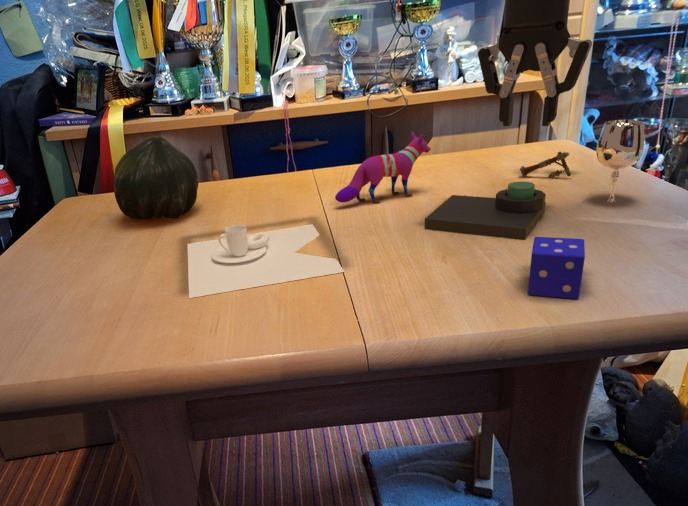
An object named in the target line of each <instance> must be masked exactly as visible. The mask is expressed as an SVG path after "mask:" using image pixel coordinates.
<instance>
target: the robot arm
mask: <svg viewBox="0 0 688 506" xmlns="http://www.w3.org/2000/svg"><path fill="white" fill-rule="evenodd" d="M570 2H571V0H504V10H503V14H504V15H503V27H502V29H503V30H502V35H501V37H500V39H499V41H498V43H495V44H493V45H490V46H484V47H482V48H480V49H479V50H478V51H477V57H478V61H479V65H480V70H481V75H482V79H483V83H484V87H485V91H486V93H487V94H488V95H489V94H490V95H491V94H493V95H495V96H498V98H499V111H498V112H499V114H498V120H499V123H502V126H503V127H510V126H511V125H512V124H513V116H514V102H515V96H514V95H513V92H514V89H515V88H516V84H517V82H518V80H519V78H520V76H521V73H524V72H528V71H533V72H540V75H541V76H540V77H541V80H542V81H543V84H544V89H545V93H546V96H545V97H544V99H543V100H544V101H543V110H542V120H541V126H542V127H549V126H550V125H551V123H552V122H554V121H555V120H556V118H557V115H558V105H559V99H560V98H559V97H560V95H561V94H564V93H566V92H570V91H571V90H572V89H573V88H574V87H576V85H577V82H578V79H579V77H580V74H581V72H582V70H583V68H584V66H585V63H586V60H587V58H588V56H589V54H590V51H591V48H592V46H593V42H592V40H591V39H585V40H583V39H579V38H575V37H571V33H570V32H569V29H568V21H569V12H570ZM566 48H568V50H569V52H568V54H569V58H571V59H572V60H571V63H570V65H569V67H568V70H567V73H566V75H565V78H564V80H563V81H561V82H559V75H558V67H557V63H556V61H557V59H558V58H559V56H560V55H561V54H562V53H563V51H564V50H565V49H566ZM499 52H500V53H501V54H502V56H503V58H504V59H505V61H506V62H507V64H508V66H507V68H506V71H505V73H504V75H503V81H502V83H501V82H500V79H499V75H498V71H497V66H496V61H498V59H499Z"/></svg>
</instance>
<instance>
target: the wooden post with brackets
mask: <svg viewBox="0 0 688 506" xmlns="http://www.w3.org/2000/svg"><path fill="white" fill-rule="evenodd" d="M569 156H570V153H569V152H568V151H566V152H565V151H564V152H562V151H558V152H557V154H556V156H553V157H551V158H547V159H544V160H542V161H540V162H539V163H536V164H533V165H530V166H524V165H521V166H520V168H519V172H520V174H521V176H522V178H523V179H524V178H526V177H527V176H528V174H530V173H533V172H535V171H537V170H539V169H543V168H546V167H548V166H551V165H552V164H557V165H558V166H560V167H562V168H563V169H564V170H563V169H562V170H559V169H556V170H555V171H551V172H550V174H548V175H547V177H548V178H549V179H550V178H551V179H554V178H556V177H557V178H558V177H560V175H561V174H563V173H565V174H566V176H567V177H571V175H572V173H571V170H570V167H569V166H568V164H567V162H566V159H567V157H569ZM560 162H561V163H560Z"/></svg>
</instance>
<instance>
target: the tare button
mask: <svg viewBox="0 0 688 506" xmlns="http://www.w3.org/2000/svg"><path fill="white" fill-rule="evenodd" d="M535 187H536V184H535V183H533V182H532V181H531V182H530V181H521V180H520V181H513V182H512V181H511V182H509V183H508V184H507V189H508V191H507V197H510V198H518V199H525V198H531V197H534V189H536V188H535Z"/></svg>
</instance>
